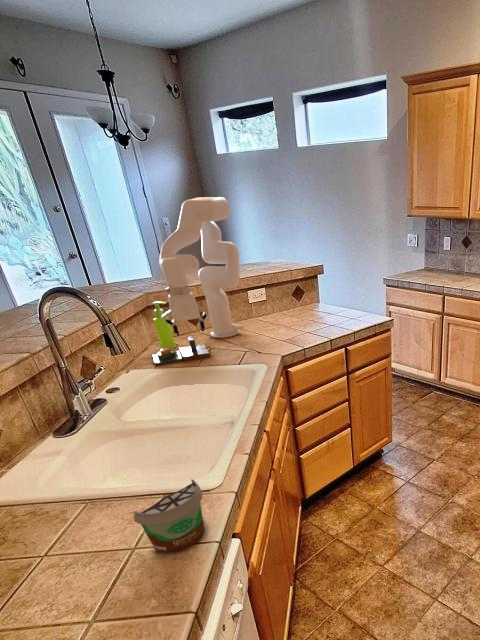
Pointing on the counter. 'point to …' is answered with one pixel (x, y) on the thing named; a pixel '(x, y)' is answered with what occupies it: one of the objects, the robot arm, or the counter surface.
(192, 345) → the black block
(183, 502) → the food container
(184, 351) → the panel
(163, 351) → the button
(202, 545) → the counter surface
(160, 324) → the soap dispenser
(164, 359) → the button box
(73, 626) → the counter surface
